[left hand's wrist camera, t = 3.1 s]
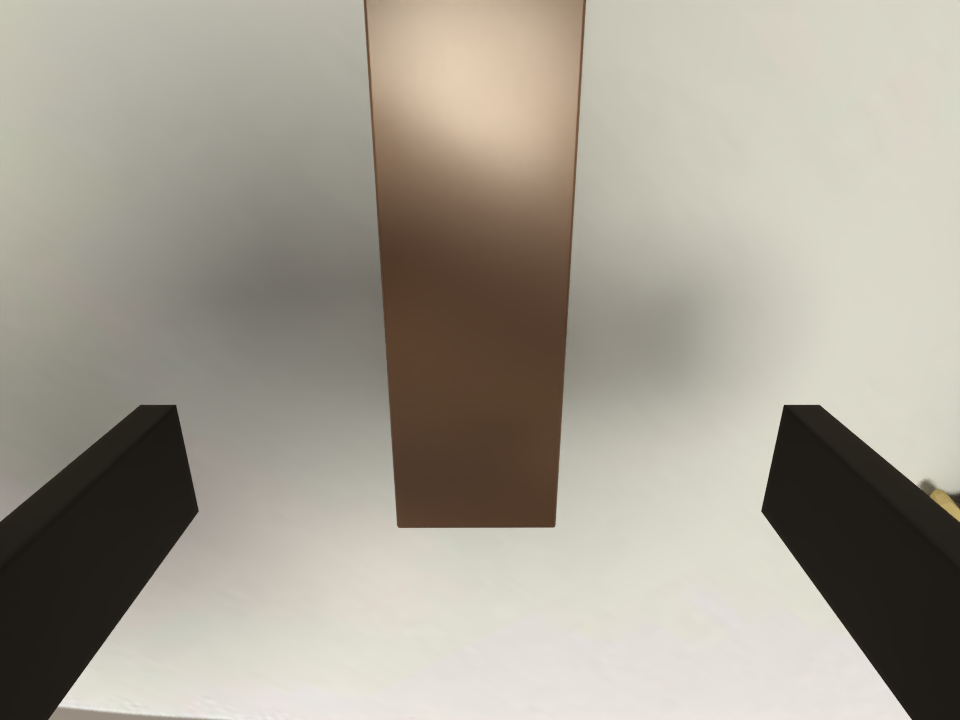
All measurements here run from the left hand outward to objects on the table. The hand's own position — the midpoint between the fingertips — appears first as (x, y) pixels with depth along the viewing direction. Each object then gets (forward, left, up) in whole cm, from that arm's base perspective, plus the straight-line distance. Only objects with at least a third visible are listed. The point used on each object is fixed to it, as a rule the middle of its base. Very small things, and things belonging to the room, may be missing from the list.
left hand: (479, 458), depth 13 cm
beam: (-3, +25, -12) cm, 28 cm away
